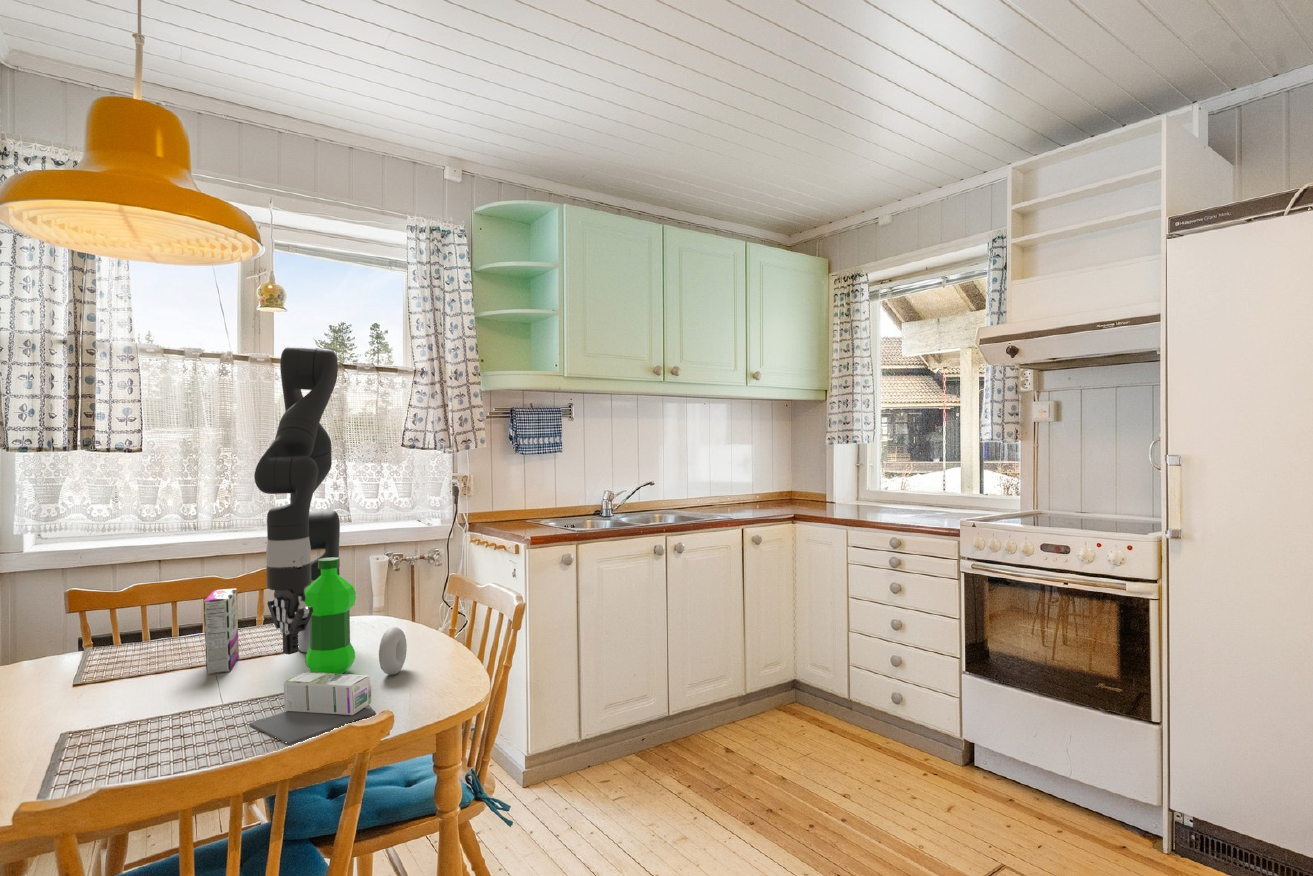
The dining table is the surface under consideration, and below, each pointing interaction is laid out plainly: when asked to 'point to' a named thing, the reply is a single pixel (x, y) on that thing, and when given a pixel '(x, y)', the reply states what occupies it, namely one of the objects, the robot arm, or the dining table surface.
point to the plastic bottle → (330, 620)
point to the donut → (392, 651)
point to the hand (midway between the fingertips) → (290, 652)
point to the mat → (304, 724)
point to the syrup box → (327, 693)
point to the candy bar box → (221, 631)
